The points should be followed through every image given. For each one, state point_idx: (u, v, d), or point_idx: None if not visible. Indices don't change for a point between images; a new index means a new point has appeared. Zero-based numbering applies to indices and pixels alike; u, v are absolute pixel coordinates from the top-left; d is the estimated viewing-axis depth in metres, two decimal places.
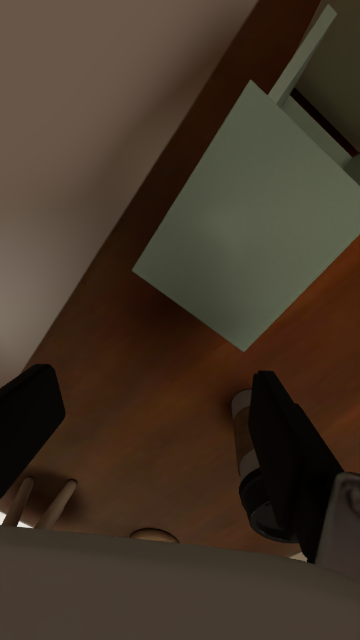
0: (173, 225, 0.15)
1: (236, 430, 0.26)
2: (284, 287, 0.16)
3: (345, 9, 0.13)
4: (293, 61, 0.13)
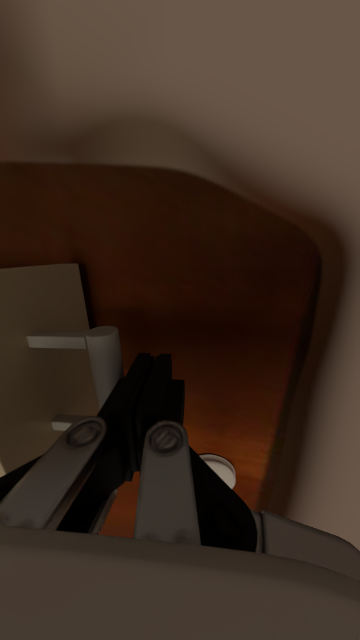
0: None
1: None
2: None
3: None
4: None
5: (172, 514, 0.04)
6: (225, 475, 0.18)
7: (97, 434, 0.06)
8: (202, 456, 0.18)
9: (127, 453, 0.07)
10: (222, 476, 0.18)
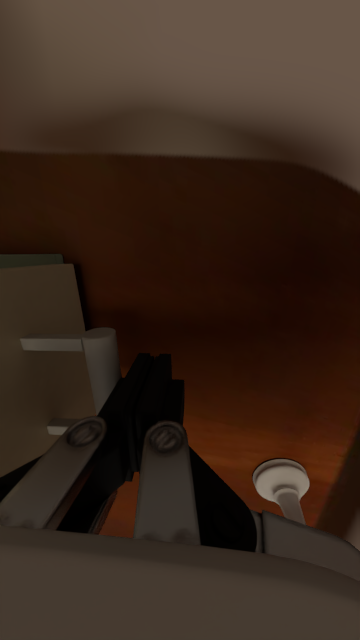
0: None
1: None
2: None
3: None
4: None
5: (172, 514, 0.04)
6: (301, 480, 0.17)
7: (97, 434, 0.06)
8: (275, 461, 0.18)
9: (127, 453, 0.07)
10: (298, 481, 0.17)
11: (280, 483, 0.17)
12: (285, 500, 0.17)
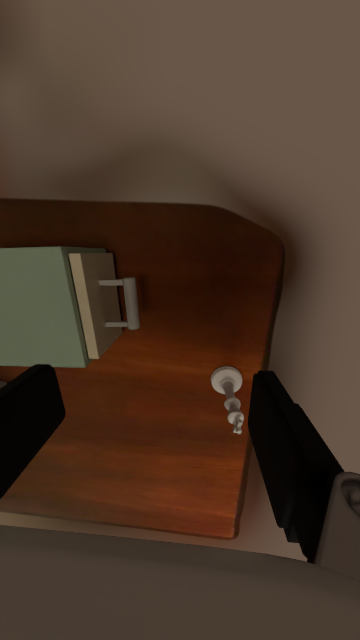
0: None
1: None
2: (13, 355, 0.22)
3: None
4: None
5: None
6: (236, 376, 0.31)
7: None
8: (222, 367, 0.31)
9: None
10: (234, 377, 0.31)
11: (224, 378, 0.31)
12: (225, 384, 0.30)
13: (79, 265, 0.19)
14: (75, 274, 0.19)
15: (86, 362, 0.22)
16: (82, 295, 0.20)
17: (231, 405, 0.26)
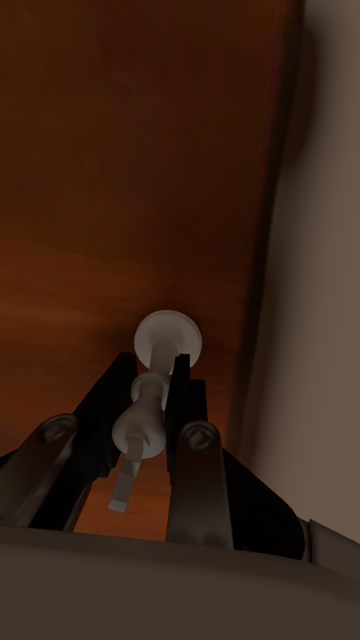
0: None
1: None
2: None
3: None
4: None
5: (220, 514, 0.04)
6: (186, 331, 0.13)
7: (68, 431, 0.06)
8: (156, 312, 0.14)
9: (101, 449, 0.07)
10: (181, 332, 0.13)
11: (157, 335, 0.13)
12: (155, 348, 0.12)
13: None
14: None
15: None
16: None
17: (142, 394, 0.08)
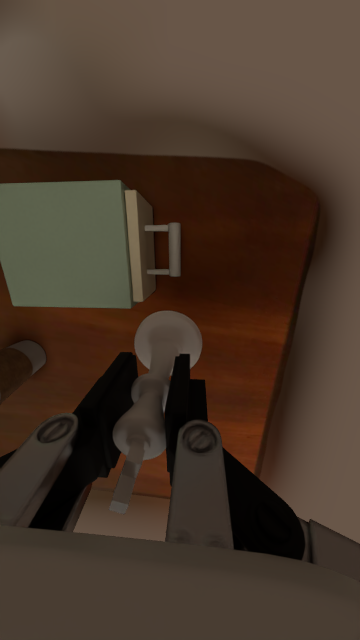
0: (26, 193, 0.20)
1: None
2: (61, 295, 0.23)
3: None
4: None
5: (220, 514, 0.04)
6: (186, 332, 0.13)
7: (68, 431, 0.06)
8: (156, 313, 0.14)
9: (101, 449, 0.07)
10: (181, 332, 0.13)
11: (157, 335, 0.13)
12: (156, 348, 0.12)
13: (134, 202, 0.20)
14: (129, 212, 0.20)
15: (131, 303, 0.23)
16: (133, 234, 0.21)
17: (142, 396, 0.08)
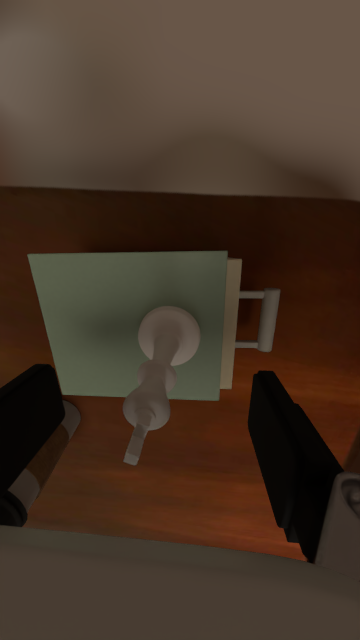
0: (93, 266, 0.14)
1: None
2: (128, 384, 0.18)
3: None
4: None
5: None
6: (185, 325, 0.14)
7: None
8: (158, 308, 0.15)
9: None
10: (181, 326, 0.14)
11: (159, 328, 0.14)
12: (158, 340, 0.13)
13: (237, 274, 0.15)
14: (229, 286, 0.15)
15: (218, 393, 0.18)
16: (231, 312, 0.16)
17: (147, 378, 0.10)
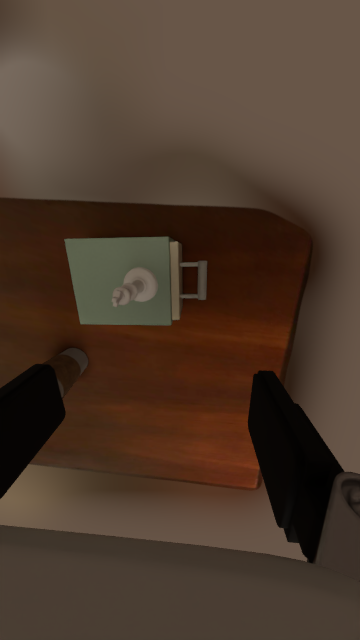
0: (99, 245, 0.27)
1: (48, 360, 0.38)
2: (118, 315, 0.30)
3: None
4: None
5: None
6: (148, 276, 0.27)
7: None
8: (134, 268, 0.28)
9: None
10: (145, 276, 0.27)
11: (134, 278, 0.27)
12: (132, 282, 0.26)
13: (176, 250, 0.28)
14: (172, 256, 0.28)
15: (171, 321, 0.30)
16: (175, 271, 0.28)
17: None
